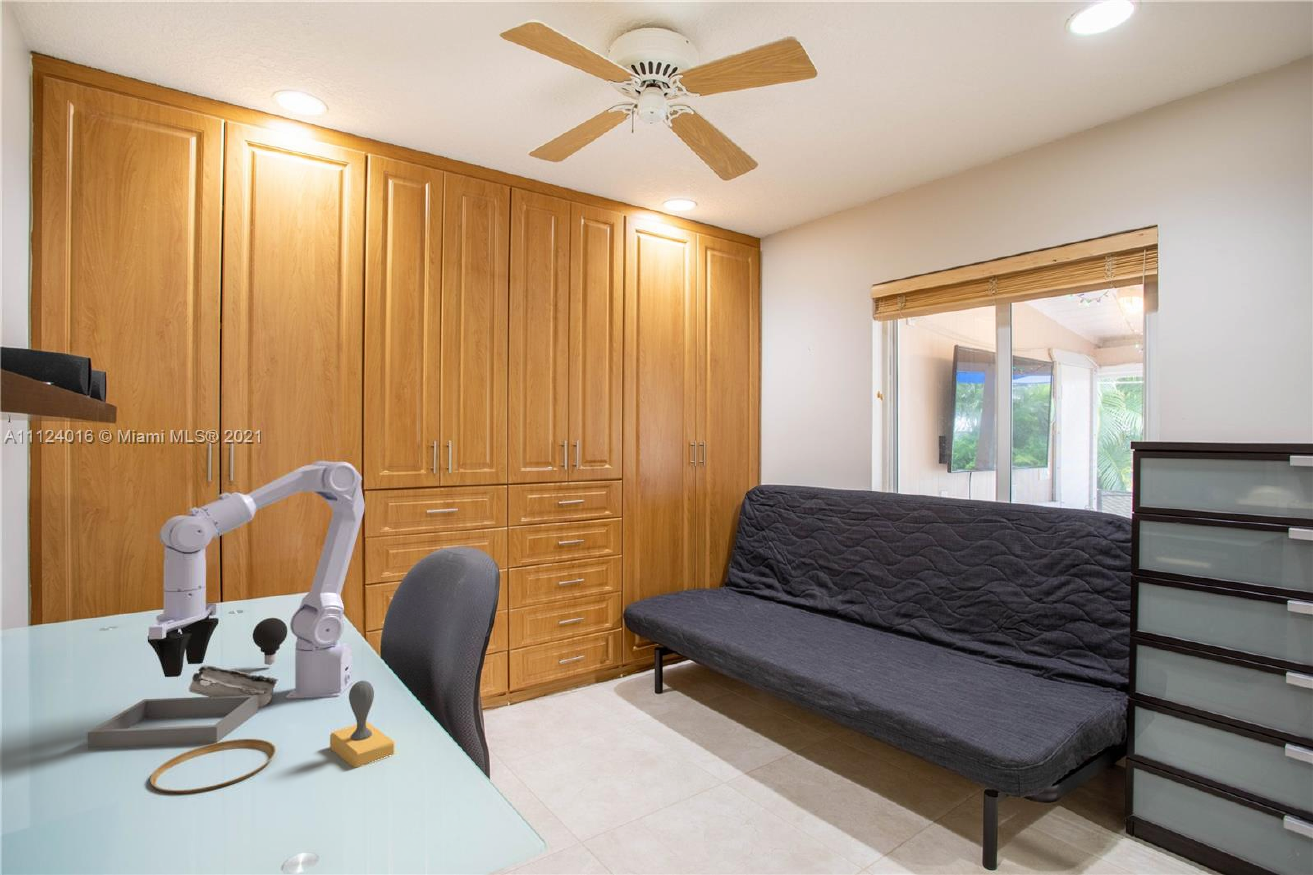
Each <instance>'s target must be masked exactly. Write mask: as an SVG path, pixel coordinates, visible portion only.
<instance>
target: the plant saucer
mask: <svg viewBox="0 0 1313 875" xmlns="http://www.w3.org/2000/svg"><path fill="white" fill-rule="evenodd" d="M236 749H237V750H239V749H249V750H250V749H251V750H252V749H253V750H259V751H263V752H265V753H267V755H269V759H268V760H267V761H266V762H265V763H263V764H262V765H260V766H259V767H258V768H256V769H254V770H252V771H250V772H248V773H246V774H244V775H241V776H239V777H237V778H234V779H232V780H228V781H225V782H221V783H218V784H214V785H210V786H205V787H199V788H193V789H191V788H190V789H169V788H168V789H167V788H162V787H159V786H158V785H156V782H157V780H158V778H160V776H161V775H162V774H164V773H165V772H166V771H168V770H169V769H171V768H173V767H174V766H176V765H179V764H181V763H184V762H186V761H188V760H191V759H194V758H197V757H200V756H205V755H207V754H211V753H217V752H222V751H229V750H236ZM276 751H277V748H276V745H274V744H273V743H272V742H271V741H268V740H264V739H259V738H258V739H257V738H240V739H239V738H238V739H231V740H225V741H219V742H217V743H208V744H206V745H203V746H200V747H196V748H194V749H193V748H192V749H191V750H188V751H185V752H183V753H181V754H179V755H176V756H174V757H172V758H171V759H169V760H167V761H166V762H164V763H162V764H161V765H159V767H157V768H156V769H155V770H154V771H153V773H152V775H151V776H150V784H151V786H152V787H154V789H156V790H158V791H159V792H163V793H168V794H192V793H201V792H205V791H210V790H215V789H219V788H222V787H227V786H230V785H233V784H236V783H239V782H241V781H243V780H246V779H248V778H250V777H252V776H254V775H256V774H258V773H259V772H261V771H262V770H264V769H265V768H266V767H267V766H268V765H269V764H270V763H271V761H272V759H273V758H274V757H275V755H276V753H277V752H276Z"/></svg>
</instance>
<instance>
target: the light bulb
mask: <svg viewBox="0 0 1313 875" xmlns="http://www.w3.org/2000/svg"><path fill="white" fill-rule="evenodd" d="M287 635H288V627H287V625H286V623H285V622H284V621H283V620H282V619H279V618H275V617H268V618H265V619H263V620H261V621H260V622H258V623H257V624H256V626H255V627H254V629H253V632H252V640H253V642H254V644H255V645H256V646H257V647H259V648H260V652H261V653H264V654H263V656H264V657H263V658H264V664H265V665H269V666H271V665H273V664H274V663H276V661H277V651H279V650H280V648H281V647H280V646H281V645H282V644H283V643H284V642H285V640H286V638H287V637H288V636H287Z"/></svg>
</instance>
